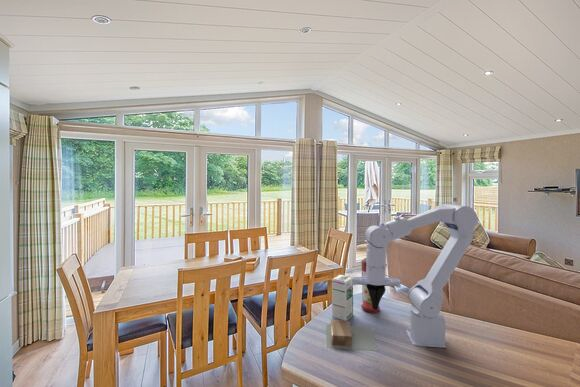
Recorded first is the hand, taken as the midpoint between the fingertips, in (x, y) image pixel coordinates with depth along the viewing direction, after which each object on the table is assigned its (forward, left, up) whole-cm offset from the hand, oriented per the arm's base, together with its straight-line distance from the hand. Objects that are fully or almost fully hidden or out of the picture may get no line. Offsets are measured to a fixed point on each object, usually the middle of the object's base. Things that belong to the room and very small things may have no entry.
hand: (374, 308), depth 89 cm
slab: (+7, 0, -9) cm, 11 cm away
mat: (+7, -1, -10) cm, 13 cm away
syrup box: (+9, -14, -11) cm, 20 cm away
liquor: (-2, -20, -11) cm, 23 cm away
